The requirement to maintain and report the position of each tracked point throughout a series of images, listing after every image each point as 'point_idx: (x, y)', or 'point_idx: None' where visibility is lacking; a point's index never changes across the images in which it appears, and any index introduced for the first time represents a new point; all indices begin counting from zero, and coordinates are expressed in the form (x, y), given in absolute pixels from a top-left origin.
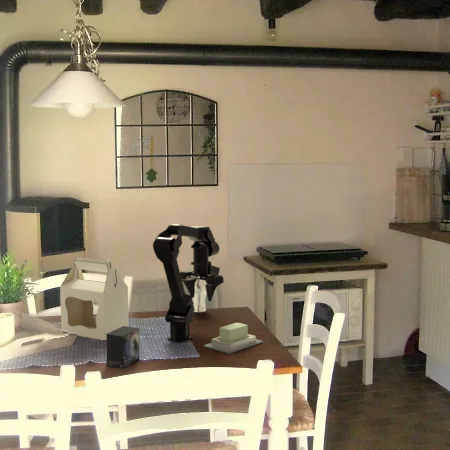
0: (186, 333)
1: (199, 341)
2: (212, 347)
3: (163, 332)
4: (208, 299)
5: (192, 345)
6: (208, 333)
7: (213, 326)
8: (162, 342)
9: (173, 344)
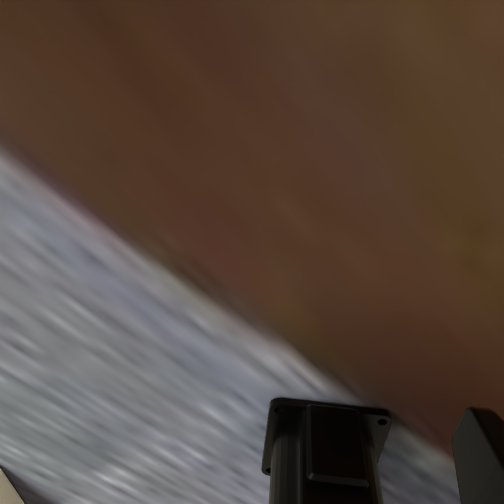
0: (378, 473)
1: None
2: None
3: (133, 392)
4: (474, 492)
5: None
6: (424, 265)
7: (329, 43)
8: None
9: None
